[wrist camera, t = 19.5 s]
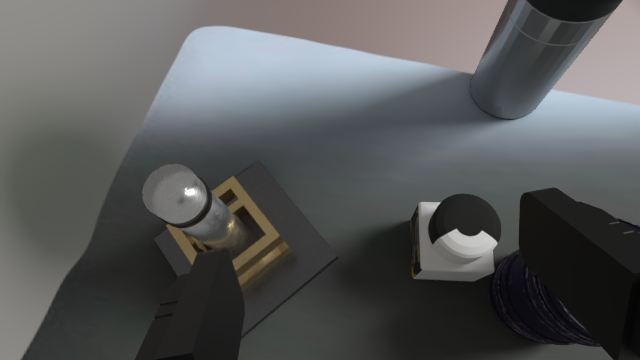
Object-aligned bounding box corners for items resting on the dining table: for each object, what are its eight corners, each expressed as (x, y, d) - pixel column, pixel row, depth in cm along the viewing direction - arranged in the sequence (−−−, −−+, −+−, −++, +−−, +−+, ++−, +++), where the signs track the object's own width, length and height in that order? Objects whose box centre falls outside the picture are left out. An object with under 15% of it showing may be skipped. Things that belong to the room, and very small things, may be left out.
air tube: (247, 223, 48) (179, 151, 29) (267, 249, 46) (208, 192, 28) (219, 245, 47) (130, 186, 28) (239, 272, 46) (158, 229, 27)
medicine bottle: (409, 219, 48) (426, 184, 37) (470, 221, 47) (505, 186, 36) (411, 279, 45) (429, 261, 34) (475, 282, 44) (515, 264, 33)
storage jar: (577, 356, 41) (691, 368, 27) (480, 327, 43) (541, 325, 29) (583, 264, 44) (687, 232, 30) (493, 241, 46) (553, 201, 32)
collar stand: (261, 165, 52) (242, 130, 43) (338, 258, 47) (334, 240, 38) (159, 241, 49) (116, 221, 41) (228, 349, 44) (197, 353, 35)
